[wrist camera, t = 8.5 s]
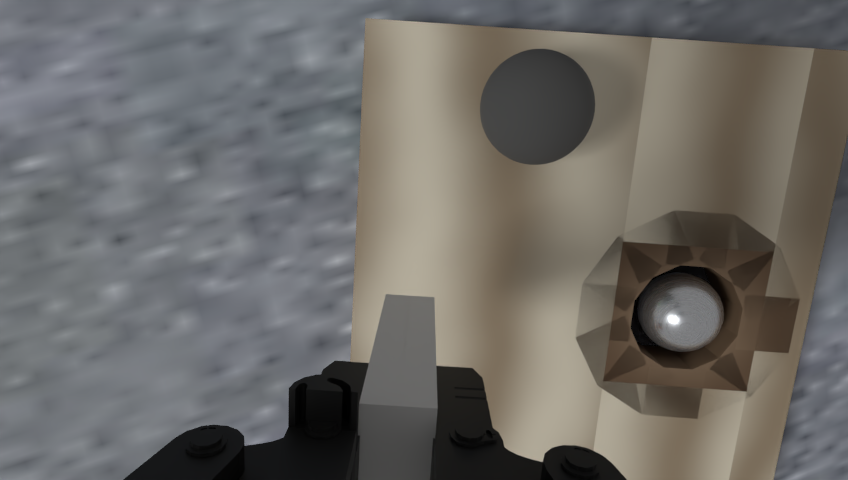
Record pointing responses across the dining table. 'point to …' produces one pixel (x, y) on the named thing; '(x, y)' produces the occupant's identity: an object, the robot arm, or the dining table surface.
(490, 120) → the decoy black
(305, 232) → the dining table surface
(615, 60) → the board
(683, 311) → the steel ball
